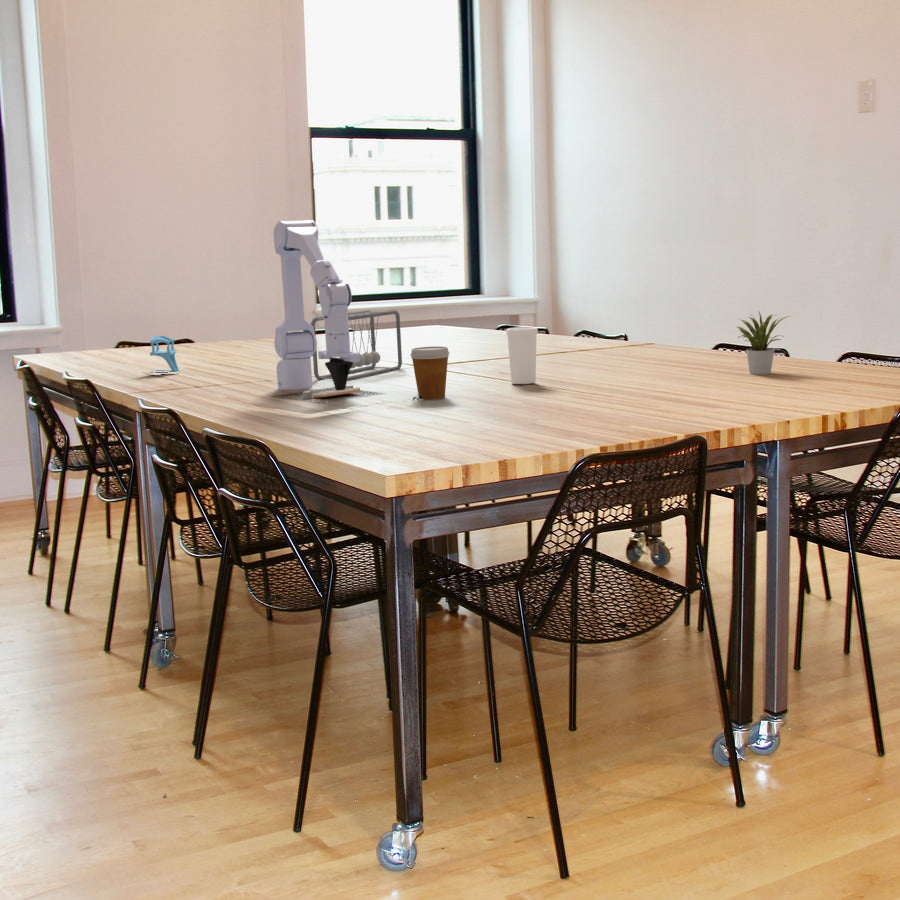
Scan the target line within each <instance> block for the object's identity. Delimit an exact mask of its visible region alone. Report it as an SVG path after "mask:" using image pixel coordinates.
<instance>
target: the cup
mask: <svg viewBox="0 0 900 900" xmlns="http://www.w3.org/2000/svg"><path fill="white" fill-rule="evenodd" d="M538 331H539V329H538V327H536V326H535V327H534V326H521V327H520V326H519V327H516V326H515V327H509V328H506V335H507V342H508V357H509V369H510V382H511V384H514V385H526V384H527V385H528V384H529V385H530V384H534V383H536V380H537V335H538Z"/></svg>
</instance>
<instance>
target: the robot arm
mask: <svg viewBox="0 0 900 900" xmlns="http://www.w3.org/2000/svg"><path fill="white" fill-rule="evenodd" d="M318 240H319V229H318V225H317V224H316V222H315V221H314V220H313V219H308V220H288V221H286V220H285V221H284V220H278V221H277V222H276V224H275V226H274V228H273V243H274V249H275V250H274V252H275V254H277V255H279V256H280V266H281V268H280V269H281V278H282V293H283V294H282V295H283V305H284V320H283V321H282V322H281V323H280V324H278V325H277V327H276V328H275V332H274V333H275V335H274V341H273V343H274V345H273V346H274V350H275V352H276V354H277V355H278V357H280V359H279V360H278V362H277V364H276V375H277V376H276V377H277V379H276V380H277V388H275V389H274V391H275V392H276V391H284V390H290V391H291V390H305V389H312V388H313V373H312V360H311V359H312V358H313V354H314V352H315V351H316V348H317V347H318V342H317V341H318V340H317V335H316V336H315V333H316V332H315V333H314V327H313V326H312V325H311V323H309V321H307V320H306V319H305V307H304V295H303V292H304V291H303V280H302V279H303V278H302V266H301V265H302V264H301V258H302V256H303V257H304V258H305V260H306V261H307V263H308V264H309V266H310V269H309V274H310V276H311V278H312V281H313V282H314V284H315V287H316V288H317V290H318V302H319V305H320V308H321V314H322V316H324V320H323V321H324V337H325V349H326V350H317V351H318V352H317V358H318V360H329V361H327V362H324V366H325V367H326V368H327V370H328V372H329V374H331V376H332V379H331V380H332V382H333V385H334V387H335V389H336V391H338V390H345V388H346V386H347V382H348V381H347V378H348V377H349V375H350V374H349V371H350V370H352V369H351V367H352V365H353V362H359V361H360V355H359V352H358V353H357V352H354V351H353V352H352V350H351V342H350V341H351V340H350V326H349V323H350V321H349V320H348V313H349V310H348V307H349V306H350V305H351V303H352V297H353V296H352V291H351V290H352V289H351V287H350V285H349V283H348V282H347V281H346V282H345V281H344V280H342V279H340V277H339V276H338V273H337V272H336V269H335V268H334V267H333V265H332V263H331V262H330V261H328V260H325V257H324V256H323V252H322V251H321V248H320V245H319V243H318V242H319V241H318ZM311 357H312V358H311ZM340 357H341V358H340Z"/></svg>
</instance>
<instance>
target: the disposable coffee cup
mask: <svg viewBox="0 0 900 900" xmlns="http://www.w3.org/2000/svg"><path fill="white" fill-rule="evenodd" d="M449 355H450V351H449V348H448V346H438V345H437V346H420V347H413V348H411V353H410V354H409V356H411V357H410V358H411V361H412V364H413V365H412V366H413V370H414V371H413V372H414V377H415V384H416V388H417V394H418V399H419V400H426V401H428V400H430V401H433V400H441V399H442V400H443V399H444V398H445V397H446V390H447V389H446V385H447V376H448V375H447V374H448V362H449V360H448V359H449Z"/></svg>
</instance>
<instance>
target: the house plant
mask: <svg viewBox="0 0 900 900" xmlns="http://www.w3.org/2000/svg"><path fill="white" fill-rule="evenodd" d="M758 314H759V322H758V321H757V320H756V318H755V317H754V316H753V315H752V314H750V313H749V315H750V316H751V317H750V316H748V318H749V319H750V321H751V323H753V325H752V324H751V323H750V322H748V321H747V320H744V319H740V318H736V319H738V320H740V321H742V322H743V324H744V325H745V326H746V327H747V328H748V330H749V331H750V332H749V331H748V330H747V329H745V328H744V327H741V326H736V328H737V329H739V331H740V333H742V334H741V335H740V336H738V337H737V339H739V338H741V337H744V338H746V339H745V340H744V342H749V343H750V345H751V348H747V349H745V352H746V358H747V364H748V372H749V375H753V376H754V375H756V376H763V375H765V376H766V375H770V374H771V371H772V366H773V363H774V362H773V361H774V356H775V348H772V347H771V348H769V347H768V346H769V345H770V343H772V342H774V341H783V340H782V339H780V338H779V339H778V338H777V337H779V336H780V337H784V338H785V336H784V335H782V334H781V335H779V334H778V335H775V336H773V337H771V334H772V332H773V331H774V329H775V328H776V326H777V325H778V324H779V323H780V322H781V321H783V320H784V319H785V318H789V317H791V315H787V316H784V317H782V318H780V317H778V318H776V319H775V320H774V321H772V323H771V325H770V327H769V329H768V326H769V324H770V322H771V320H772V318H774V317H775V316H777V314H775V315H774V314H770V315H768V316H767V317H766V319H765V321H763V320H762V314H761V312H760V311H758ZM753 326H754V327H753ZM767 329H768V331H767ZM770 338H771V339H770ZM747 339H748V340H747ZM769 339H770V340H769ZM768 341H769V342H768Z"/></svg>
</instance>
